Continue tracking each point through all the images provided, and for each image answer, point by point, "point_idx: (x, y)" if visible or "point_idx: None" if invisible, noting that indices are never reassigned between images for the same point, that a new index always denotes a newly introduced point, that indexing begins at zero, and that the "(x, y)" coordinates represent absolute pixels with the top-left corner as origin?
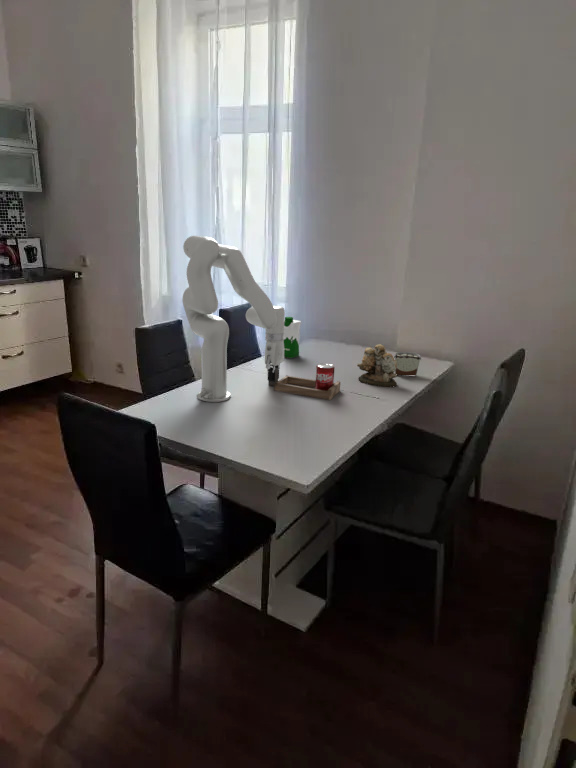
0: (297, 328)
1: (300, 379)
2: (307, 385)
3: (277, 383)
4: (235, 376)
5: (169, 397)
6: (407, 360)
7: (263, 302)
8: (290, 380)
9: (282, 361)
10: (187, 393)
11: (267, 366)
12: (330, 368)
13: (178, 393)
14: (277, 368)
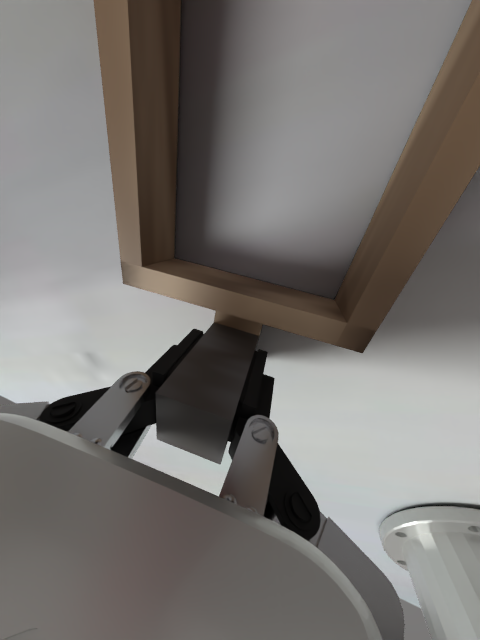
0: None
1: (141, 117)
2: (174, 32)
3: (364, 331)
4: (179, 459)
5: None
6: None
7: None
8: (160, 240)
9: (22, 439)
10: (401, 576)
11: (392, 635)
12: None
13: (401, 588)
14: (159, 400)
